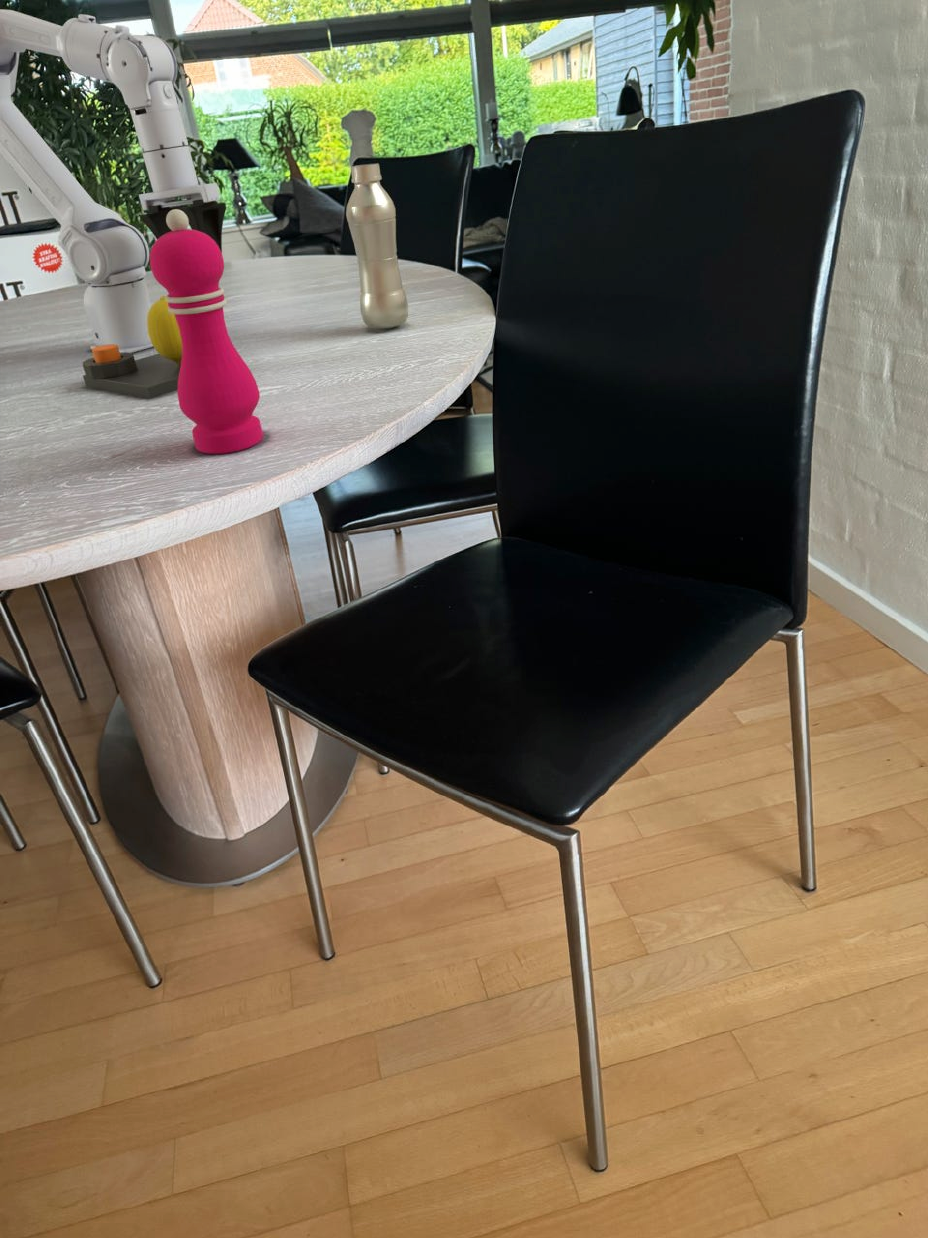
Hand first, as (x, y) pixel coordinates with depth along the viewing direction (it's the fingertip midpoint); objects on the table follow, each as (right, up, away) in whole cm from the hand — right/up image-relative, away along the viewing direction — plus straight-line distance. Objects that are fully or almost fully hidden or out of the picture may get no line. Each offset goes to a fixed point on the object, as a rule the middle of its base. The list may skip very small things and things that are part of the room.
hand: (197, 265), depth 114 cm
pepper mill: (+13, -30, -33) cm, 47 cm away
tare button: (-8, -15, -10) cm, 20 cm away
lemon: (+1, -16, -9) cm, 18 cm away
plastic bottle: (+25, -7, +5) cm, 26 cm away
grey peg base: (-2, -17, -8) cm, 19 cm away
